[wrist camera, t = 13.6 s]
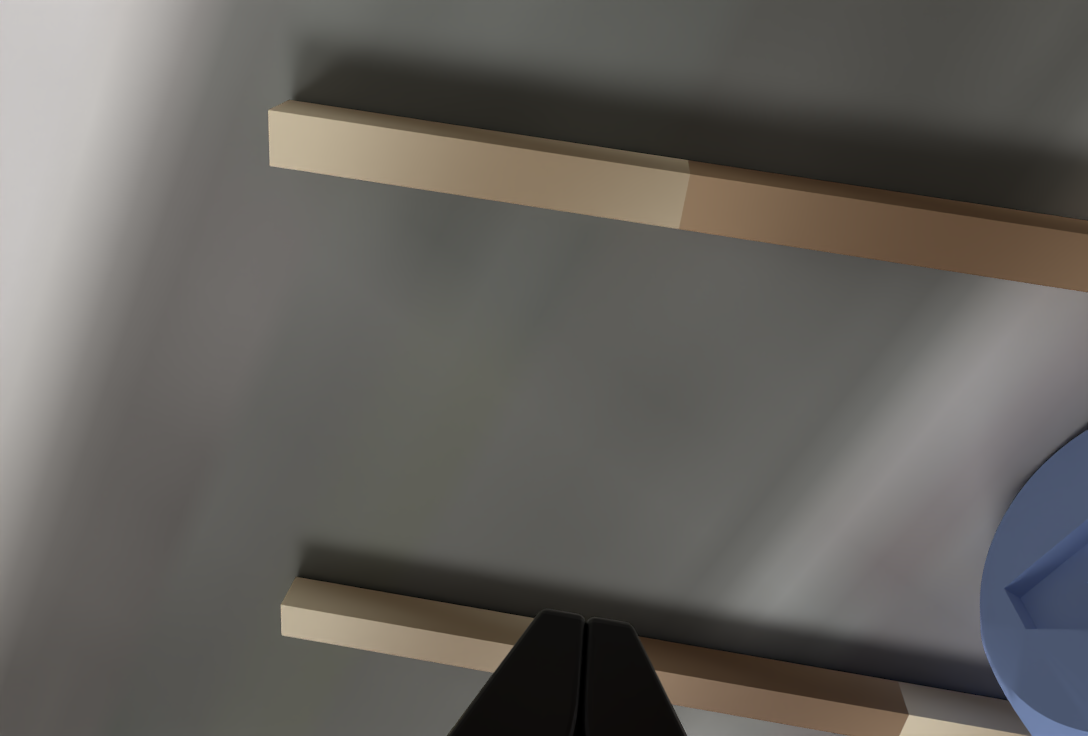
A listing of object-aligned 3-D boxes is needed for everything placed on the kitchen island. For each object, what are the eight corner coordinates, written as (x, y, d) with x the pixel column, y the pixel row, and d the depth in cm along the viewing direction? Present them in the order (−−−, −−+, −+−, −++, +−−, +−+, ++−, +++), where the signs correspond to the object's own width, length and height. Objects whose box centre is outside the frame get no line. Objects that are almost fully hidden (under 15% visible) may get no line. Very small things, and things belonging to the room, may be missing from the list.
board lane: (296, 606, 13) (281, 634, 13) (288, 99, 10) (268, 109, 9) (1551, 826, 12) (1590, 866, 12) (2041, 365, 9) (2126, 392, 8)
